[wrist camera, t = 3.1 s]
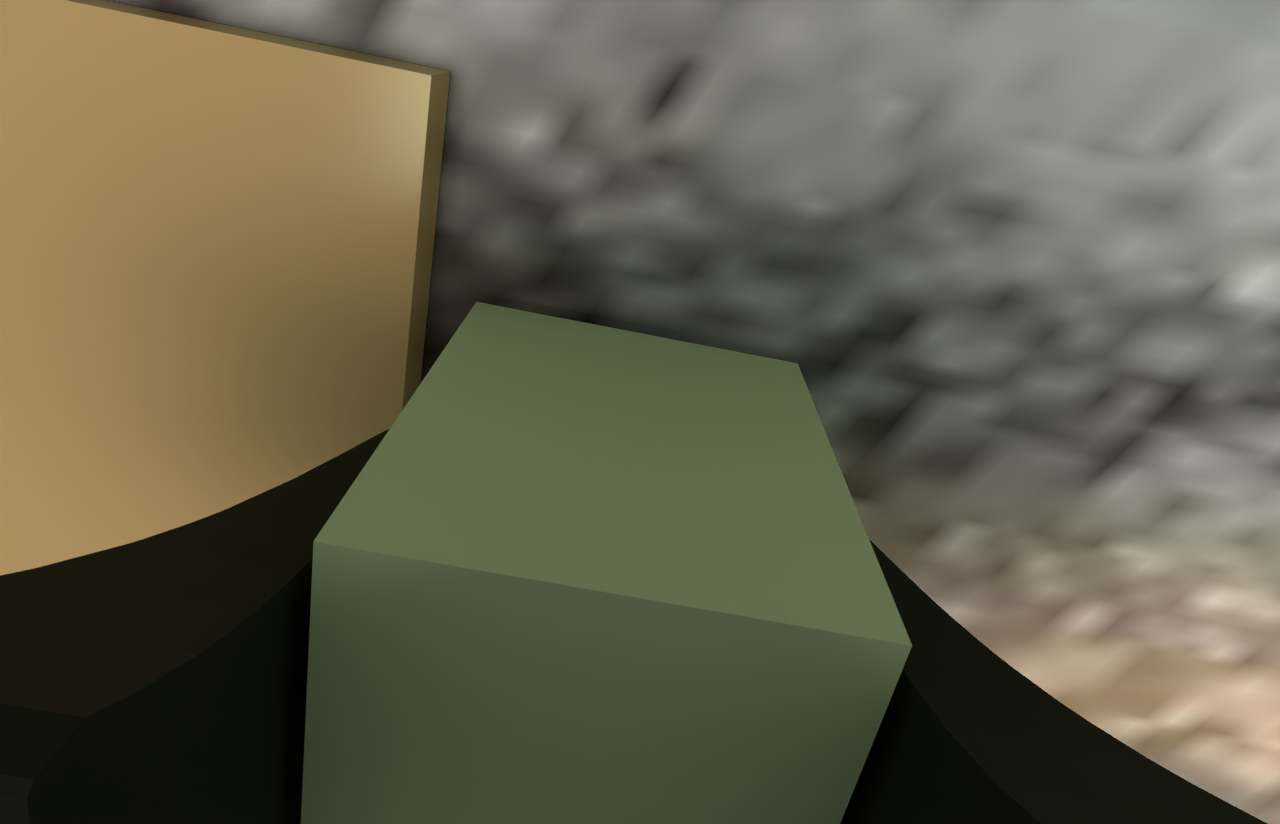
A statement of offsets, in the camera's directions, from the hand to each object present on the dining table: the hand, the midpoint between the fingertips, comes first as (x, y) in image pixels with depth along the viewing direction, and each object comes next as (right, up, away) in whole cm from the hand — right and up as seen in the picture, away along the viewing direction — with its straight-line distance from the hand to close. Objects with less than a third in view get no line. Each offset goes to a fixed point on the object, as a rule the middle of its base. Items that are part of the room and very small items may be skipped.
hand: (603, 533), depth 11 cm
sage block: (0, +1, +2) cm, 2 cm away
